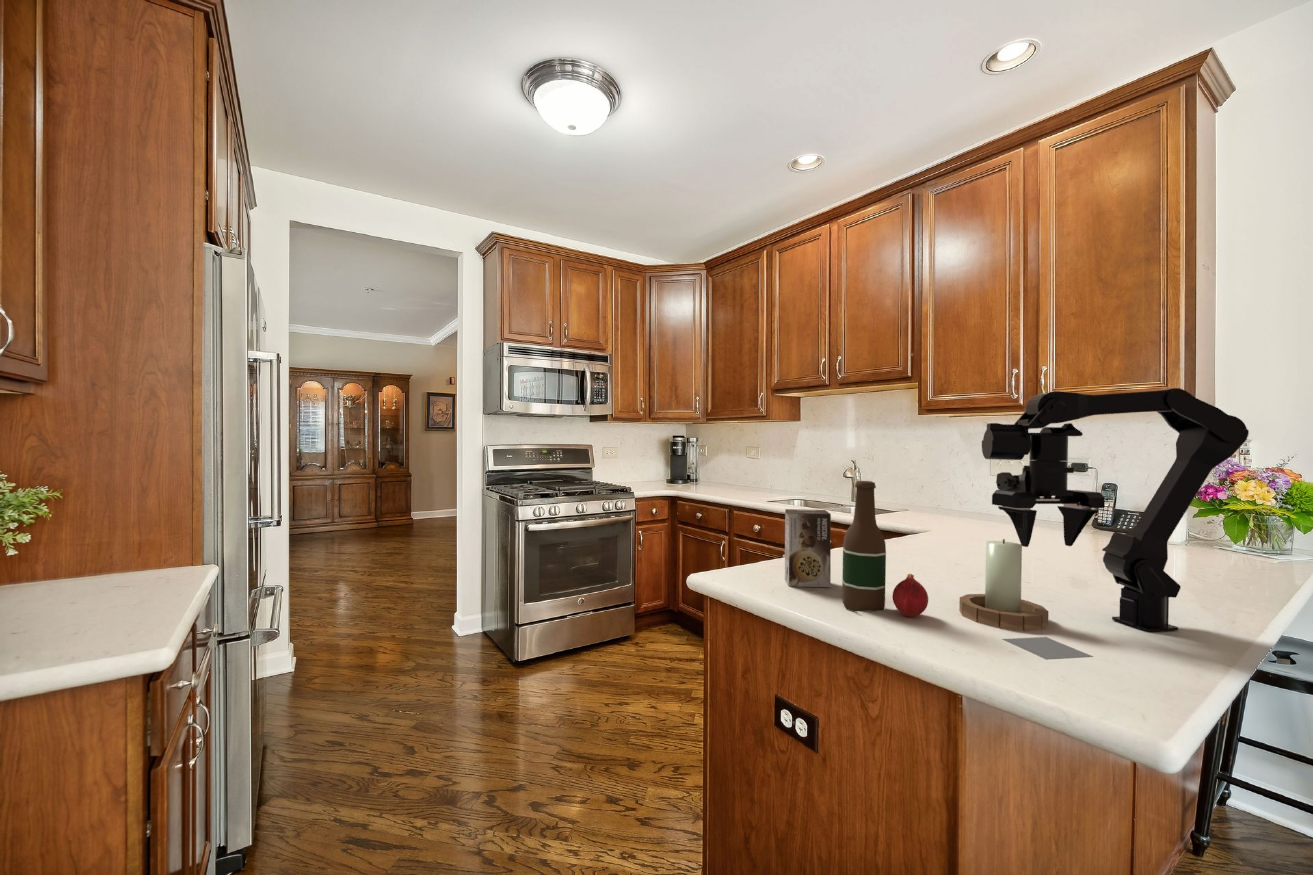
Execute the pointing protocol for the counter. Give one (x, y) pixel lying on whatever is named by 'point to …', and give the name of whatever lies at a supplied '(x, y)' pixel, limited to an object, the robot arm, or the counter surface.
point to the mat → (1047, 648)
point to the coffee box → (807, 548)
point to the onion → (910, 597)
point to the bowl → (1004, 614)
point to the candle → (1003, 576)
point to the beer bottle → (864, 555)
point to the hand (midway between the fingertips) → (1046, 546)
